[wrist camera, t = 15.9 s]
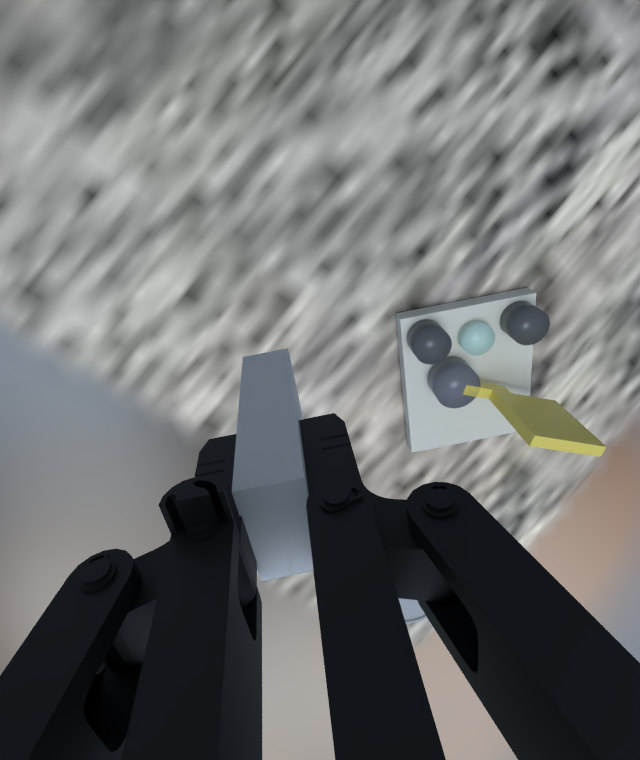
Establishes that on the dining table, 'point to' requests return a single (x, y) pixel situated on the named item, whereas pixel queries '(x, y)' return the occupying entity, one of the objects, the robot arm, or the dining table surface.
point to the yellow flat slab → (514, 409)
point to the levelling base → (480, 351)
